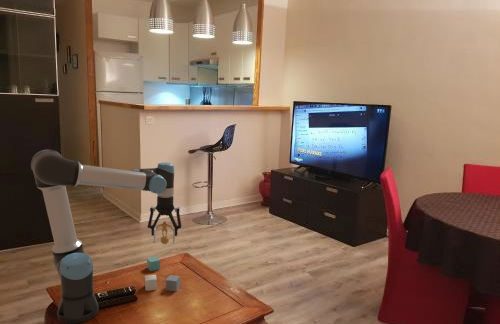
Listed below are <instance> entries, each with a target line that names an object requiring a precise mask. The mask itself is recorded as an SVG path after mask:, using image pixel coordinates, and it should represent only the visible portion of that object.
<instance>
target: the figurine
mask: <svg viewBox="0 0 500 324" xmlns="http://www.w3.org/2000/svg"><path fill="white" fill-rule="evenodd" d="M159 227H161V232H162V233H161V234H162V236H161V237H160V243H161V244H162V245H167V244H168V243H169V242H170V238H169V237H168V228H170V229H171V230H172V231H173V229H174V227H172V226H171V225H169V224H167V222H166V221H165V220H164V221H163V222H162V223H161V224H159V225H156V227H155V228H156V231H157V229H158V228H159ZM167 227H168V228H167ZM164 232H165V234H164Z"/></svg>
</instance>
